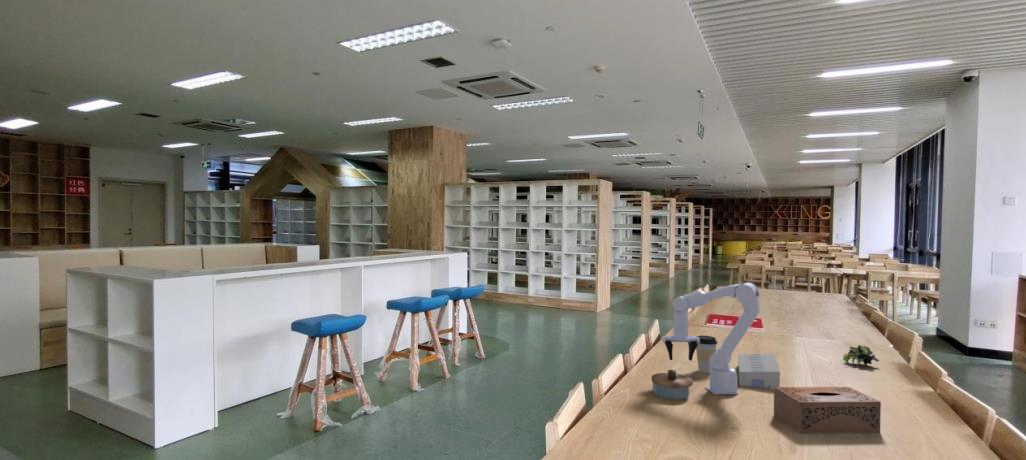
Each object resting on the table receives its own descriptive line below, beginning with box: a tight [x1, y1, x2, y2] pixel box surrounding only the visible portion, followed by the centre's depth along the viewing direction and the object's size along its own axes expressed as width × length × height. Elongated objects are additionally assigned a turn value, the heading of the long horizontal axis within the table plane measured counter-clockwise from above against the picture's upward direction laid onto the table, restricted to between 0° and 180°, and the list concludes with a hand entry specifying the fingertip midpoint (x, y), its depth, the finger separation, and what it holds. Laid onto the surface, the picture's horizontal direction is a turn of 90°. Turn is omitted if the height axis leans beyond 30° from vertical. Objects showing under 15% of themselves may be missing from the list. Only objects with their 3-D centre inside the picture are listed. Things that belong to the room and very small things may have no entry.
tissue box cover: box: [773, 386, 882, 434], centre depth 163 cm, size 26×14×10 cm, turn 92°
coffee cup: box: [695, 335, 718, 374], centre depth 220 cm, size 9×9×15 cm
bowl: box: [652, 382, 690, 401], centre depth 191 cm, size 13×13×5 cm
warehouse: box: [738, 353, 781, 390], centre depth 213 cm, size 30×14×8 cm, turn 156°
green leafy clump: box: [842, 344, 880, 368], centre depth 231 cm, size 11×11×12 cm
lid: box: [651, 369, 694, 388], centre depth 191 cm, size 15×15×4 cm
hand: (680, 359), depth 202 cm, fingers open, 7 cm apart
